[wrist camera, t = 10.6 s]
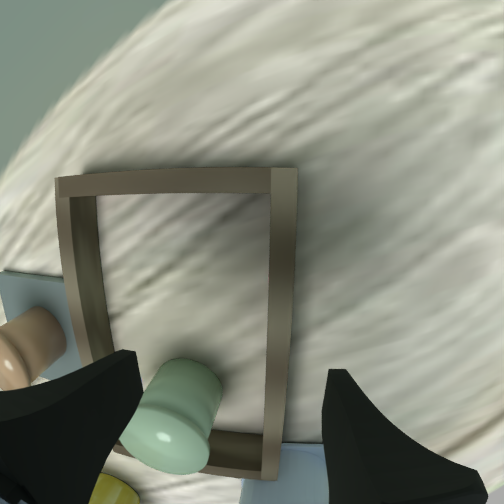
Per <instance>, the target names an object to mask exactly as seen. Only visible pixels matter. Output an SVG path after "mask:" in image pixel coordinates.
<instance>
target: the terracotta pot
mask: <svg viewBox="0 0 504 504" xmlns="http://www.w3.org/2000/svg"><path fill="white" fill-rule="evenodd" d="M66 346H67V344H66V337H65V334H64V331H63V329H62V327H61V325H60V324H59V322H58V321H57V319H56V318H55V317H54V316H53V315H52V314H51V313H50V312H49V311H48V310H46V309H45V308H43V307H40V306H34V307H32V308H30V309H28V310H27V311H25V312H23V313H22V314H20V315H18V316H17V317H15V318H13V319H12V320H10V321H9V322H7V323H5V324H4V325H2V326H1V327H0V388H1V389H2V390H3V391H7V390H15V389H20V388H25V387H29V386H31V383H32V382H33V381H34V380H35V379H36V378H38V377H39V376H40V375H41V374H42V373H43V372H44V371H45V370H47V369H48V368H49V367H50V366H51V365H52V364H53V363H55V362H56V361H57V360H58V359H59V358H60V357H61V356H63V355H64V353H65V351H66Z"/></svg>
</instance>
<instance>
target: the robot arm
mask: <svg viewBox="0 0 504 504" xmlns="http://www.w3.org/2000/svg"><path fill="white" fill-rule="evenodd" d="M143 393H144V392H143V387H142V382H141V377H140V372H139V367H138V361H137V356H136V352H135V351H130V350H124V349H122V350H119V351H116V352H114V353H112V354H110V355H108V356H105V357H103V358H101V359H99V360H97V361H95V362H93V363H91V364H89V365H87V366H85V367H83V368H80V369H78V370H76V371H74V372H71V373H69V374H66V375H64V376H62V377H59V378H57V379H54V380H51V381H48V382H45V383H41V384H38V385H34V386H29V387H25V388H20V389H15V390H7V391H0V504H89V501H90V498H91V495H92V492H93V490H94V487H95V485H96V482H97V480H98V477H99V475H100V473H101V470H102V468H103V466H104V464H105V461H106V459H107V457H108V456H109V454H110V452H111V450H112V449H113V447H114V446H115V444H116V442H117V441H118V439H119V438H120V436H121V435H122V433H123V431H124V430H125V428H126V427H127V425H128V423H129V422H130V420H131V419H132V417H133V415H134V414H135V412H136V410H137V407H138V405H139V403H140V400H141V398H142V396H143ZM322 439H323V444H295V443H281V452H280V461H279V470H278V479H277V481H264V480H252V479H242V492H241V497H240V502H239V504H486V502H487V499H488V493H487V491H486V488H485V486H484V483H483V481H482V479H481V477H480V475H479V473H478V472H477V470H474V469H471V468H468V467H466V466H463V465H460V464H457V463H455V462H452V461H450V460H448V459H446V458H444V457H442V456H440V455H438V454H436V453H434V452H432V451H430V450H428V449H427V448H425V447H423V446H422V445H420V444H419V443H417V442H416V441H414V440H413V439H411V438H410V437H409V436H407V435H406V434H405V433H403V432H402V431H401V430H400V429H398V428H397V427H396V426H395V425H393V424H392V423H391V422H390V421H389V420H388V419H387V418H386V417H385V416H384V415H383V414H382V413H381V412H380V411H379V410H378V409H377V408H376V407H375V406H374V404H373V403H372V402H371V401H370V400H369V399H368V397H367V396H366V395H365V394H364V392H363V391H362V390H361V389H360V387H359V386H358V385H357V383H356V382H355V381H354V379H353V378H352V377H351V375H350V374H349V373H348V371H347V370H346V369H329V370H328V377H327V383H326V389H325V395H324V401H323V407H322Z"/></svg>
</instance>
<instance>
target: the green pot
mask: <svg viewBox="0 0 504 504" xmlns="http://www.w3.org/2000/svg"><path fill="white" fill-rule="evenodd" d="M222 393H223V391H222V386H221V383H220V381H219V379H218V378H217V376H216V375H215V374H214V373H213V372H212V371H211V370H210V369H209V368H208V367H206V366H204V365H203V364H201V363H199V362H196V361H193V360H189V359H173V360H170V361H168V362H166V363H164V364H163V365H162V366H161V367H160V369H159V370H158V372H157V373H156V375H155V376H154V378H153V379H152V381H151V382H150V384H149V385H148V387H147V388H146V390H145V391H144V393H143V396H142V398H141V400H140V403H139V405H138V407H137V410H136V412H135V414H134V415H133V417H132V419H131V420H130V422H129V423H128V425H127V427H126V428H125V430H124V431H123V433H122V435H121V436H120V438H119V440H120V442H121V443H122V445H123V446H124V447H125V448H126V450H127V451H128V452H129V453H130V454H131V455H133V456H134V457H135V458H136V459H138V460H139V461H141V462H142V463H144V464H146V465H147V466H149V467H151V468H154V469H156V470H159V471H162V472H165V473H170V474H177V475H186V474H192V473H196V472H198V471H200V470H201V469H203V468H204V467H205V465H206V464H207V461H208V458H209V455H210V445H209V442H208V438H209V435H210V432H211V429H212V426H213V423H214V420H215V417H216V414H217V411H218V408H219V405H220V401H221V398H222Z"/></svg>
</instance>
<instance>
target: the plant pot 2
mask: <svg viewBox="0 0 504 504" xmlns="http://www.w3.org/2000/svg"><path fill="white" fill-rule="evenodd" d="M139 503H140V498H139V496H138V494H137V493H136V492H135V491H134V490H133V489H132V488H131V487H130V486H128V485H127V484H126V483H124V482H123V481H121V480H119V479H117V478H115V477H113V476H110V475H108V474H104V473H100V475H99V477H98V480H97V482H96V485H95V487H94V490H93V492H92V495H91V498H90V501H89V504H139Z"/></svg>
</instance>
